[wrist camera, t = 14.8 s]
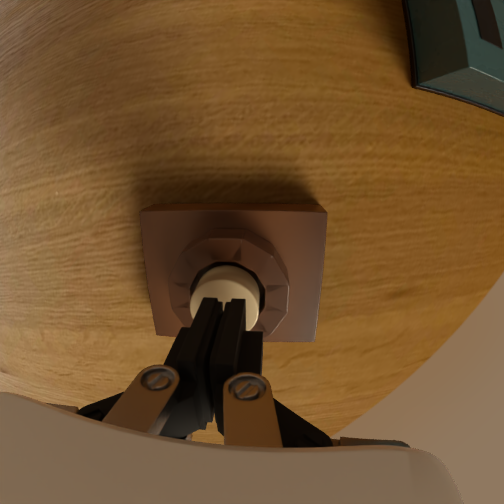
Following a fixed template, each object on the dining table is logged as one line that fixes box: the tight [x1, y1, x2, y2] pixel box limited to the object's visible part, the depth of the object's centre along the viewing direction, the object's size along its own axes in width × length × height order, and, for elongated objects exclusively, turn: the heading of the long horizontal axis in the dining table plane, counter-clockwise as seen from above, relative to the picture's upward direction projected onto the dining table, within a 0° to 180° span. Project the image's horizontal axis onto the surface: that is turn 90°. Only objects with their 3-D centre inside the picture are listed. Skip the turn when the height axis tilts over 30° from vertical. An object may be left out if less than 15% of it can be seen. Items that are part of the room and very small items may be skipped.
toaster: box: [402, 0, 504, 117], centre depth 9 cm, size 10×14×6 cm
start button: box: [190, 265, 260, 331], centre depth 14 cm, size 3×3×2 cm
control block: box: [140, 203, 327, 342], centre depth 17 cm, size 10×8×4 cm
